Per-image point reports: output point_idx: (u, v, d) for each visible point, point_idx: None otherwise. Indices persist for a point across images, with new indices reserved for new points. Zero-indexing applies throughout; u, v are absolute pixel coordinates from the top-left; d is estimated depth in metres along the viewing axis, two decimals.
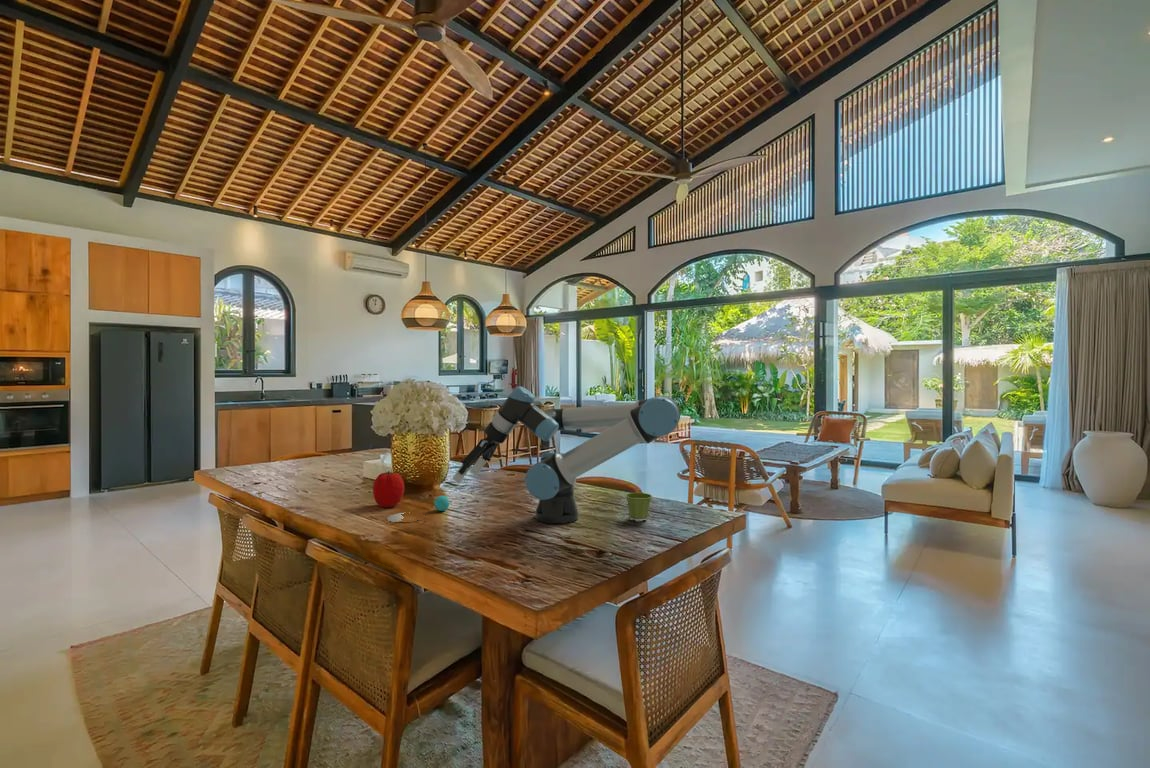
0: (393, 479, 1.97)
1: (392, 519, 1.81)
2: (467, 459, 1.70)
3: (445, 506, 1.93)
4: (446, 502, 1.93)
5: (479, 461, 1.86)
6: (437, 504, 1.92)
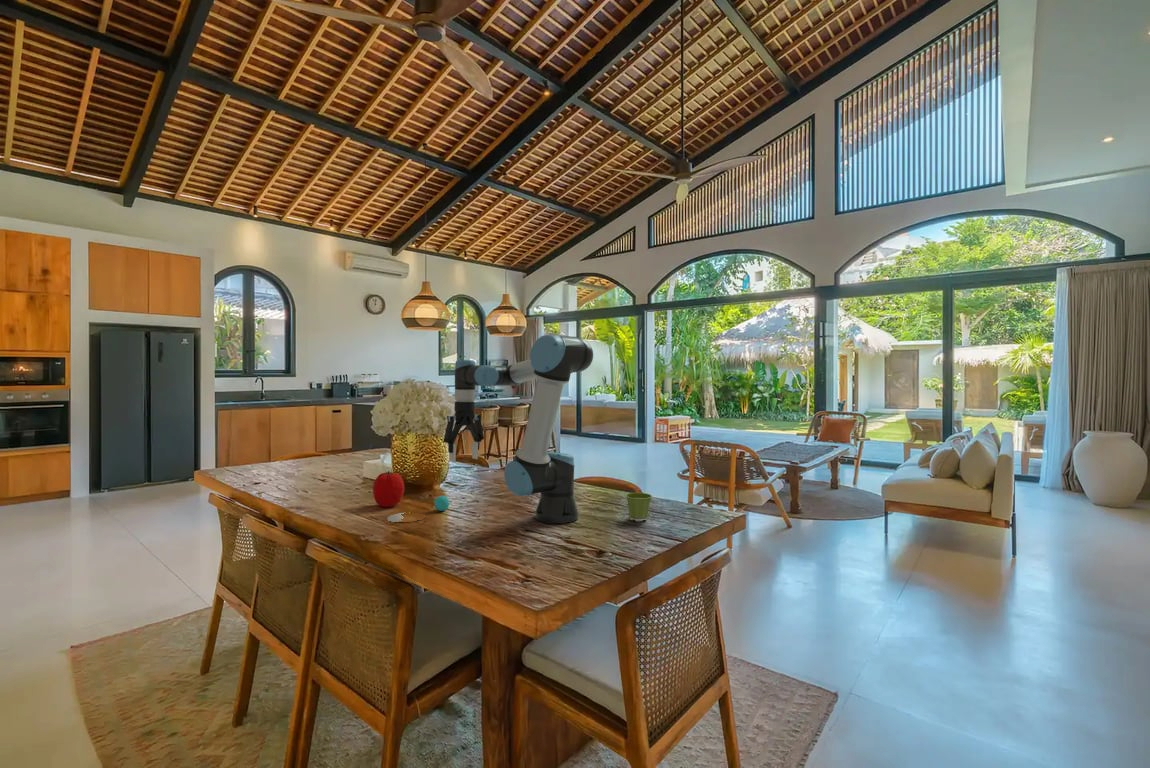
0: (393, 479, 1.97)
1: (392, 519, 1.81)
2: (445, 437, 1.95)
3: (445, 506, 1.93)
4: (446, 502, 1.93)
5: (473, 445, 2.05)
6: (437, 504, 1.92)
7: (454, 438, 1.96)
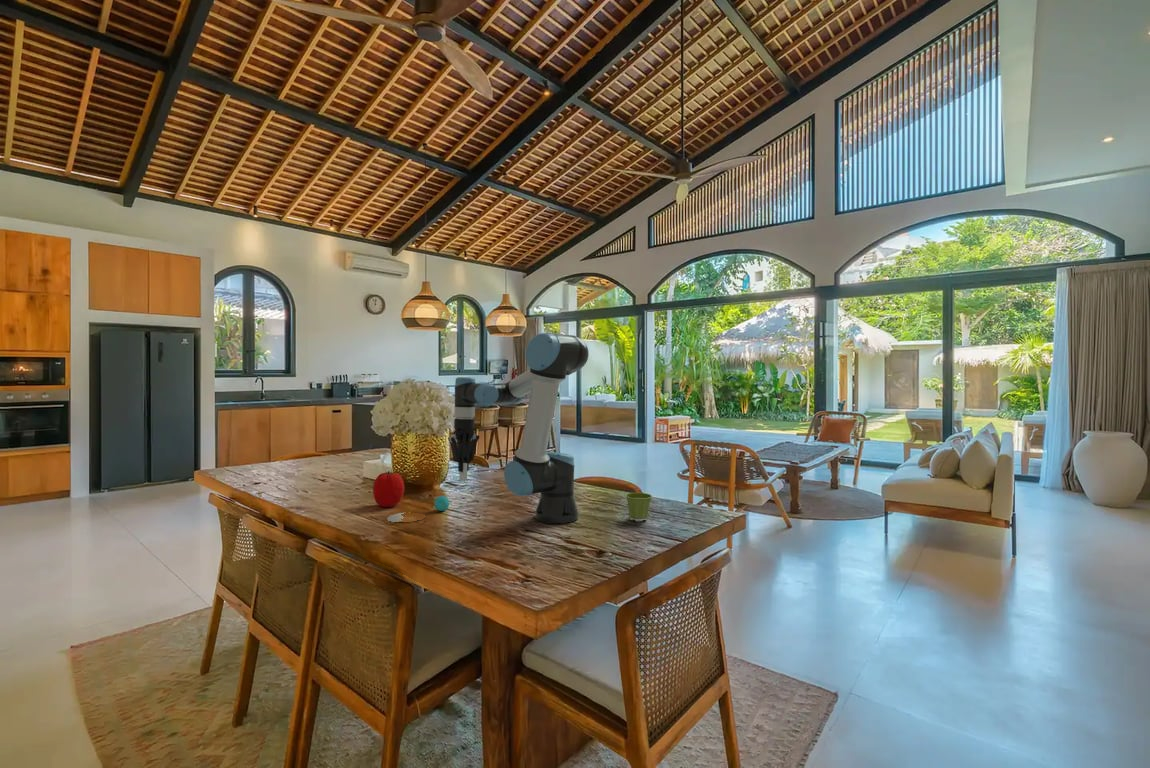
0: (393, 479, 1.97)
1: (392, 519, 1.81)
2: (454, 457, 1.99)
3: (445, 506, 1.93)
4: (446, 502, 1.93)
5: None
6: (437, 504, 1.92)
7: (462, 457, 2.00)
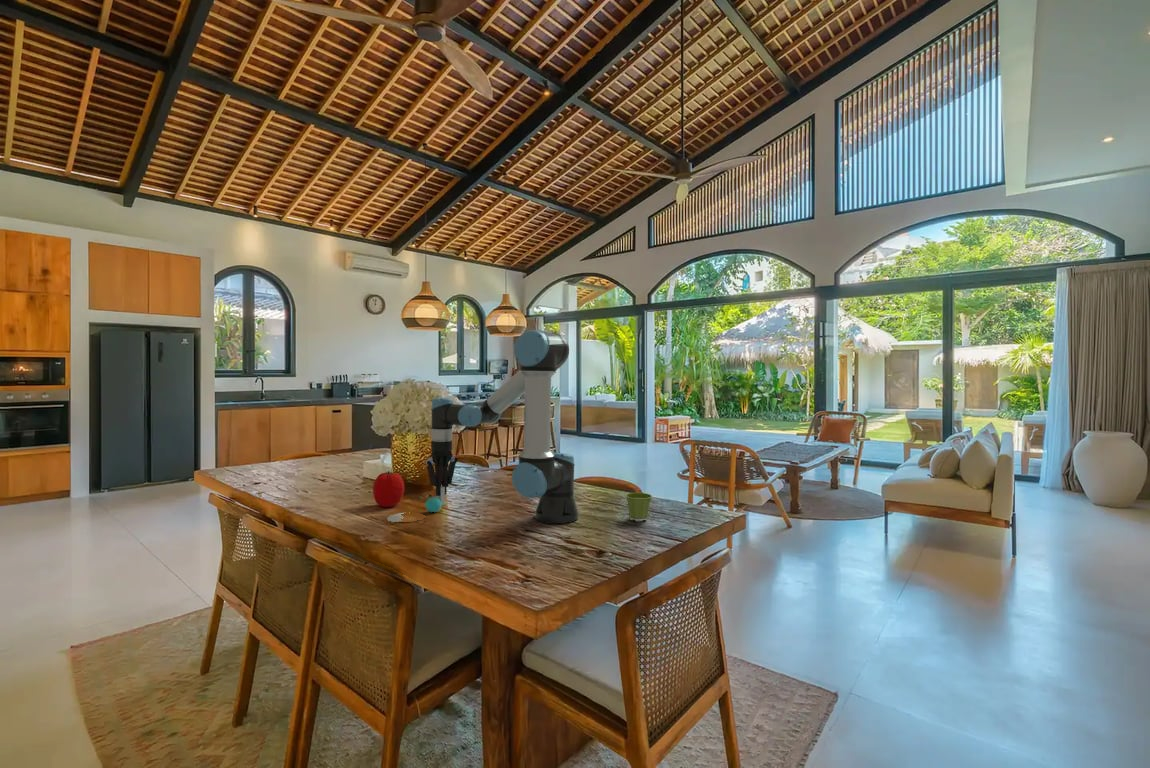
0: (393, 479, 1.97)
1: (392, 519, 1.81)
2: (431, 481, 1.92)
3: (438, 507, 1.91)
4: (436, 503, 1.90)
5: None
6: (430, 511, 1.90)
7: (439, 481, 1.93)
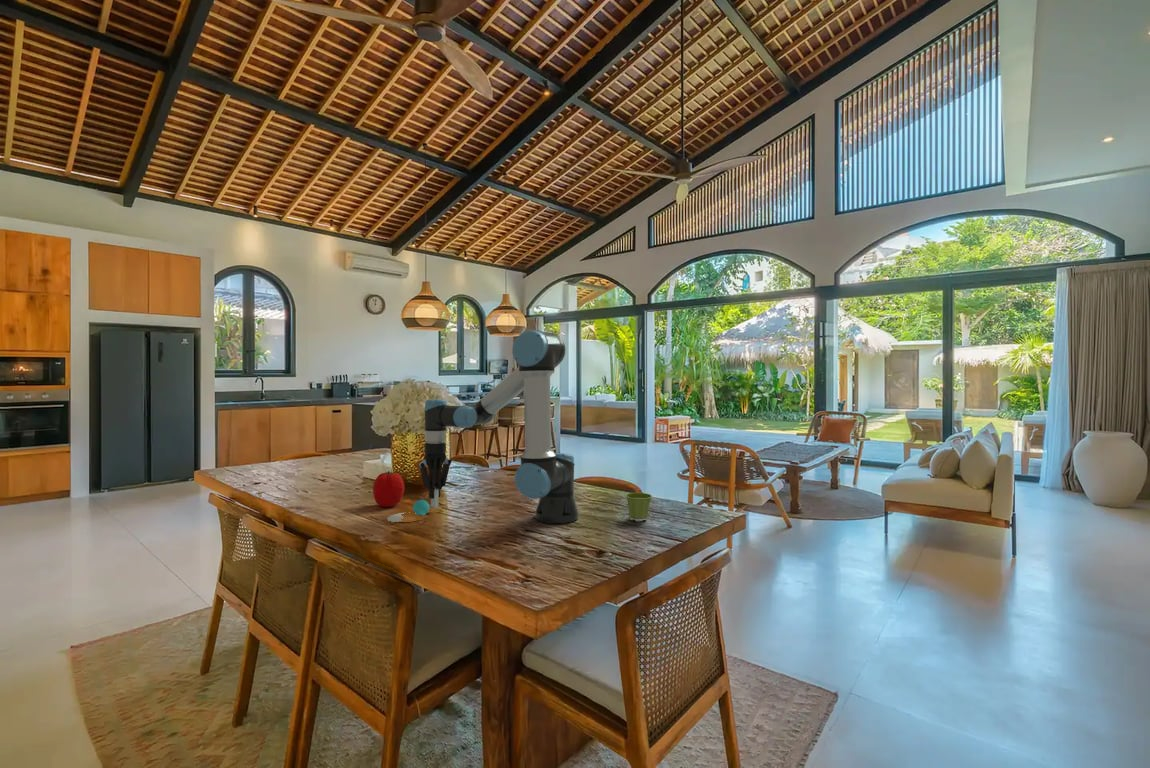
0: (393, 479, 1.97)
1: (392, 519, 1.81)
2: (424, 483, 1.90)
3: (427, 509, 1.87)
4: (423, 511, 1.86)
5: None
6: None
7: (433, 483, 1.91)
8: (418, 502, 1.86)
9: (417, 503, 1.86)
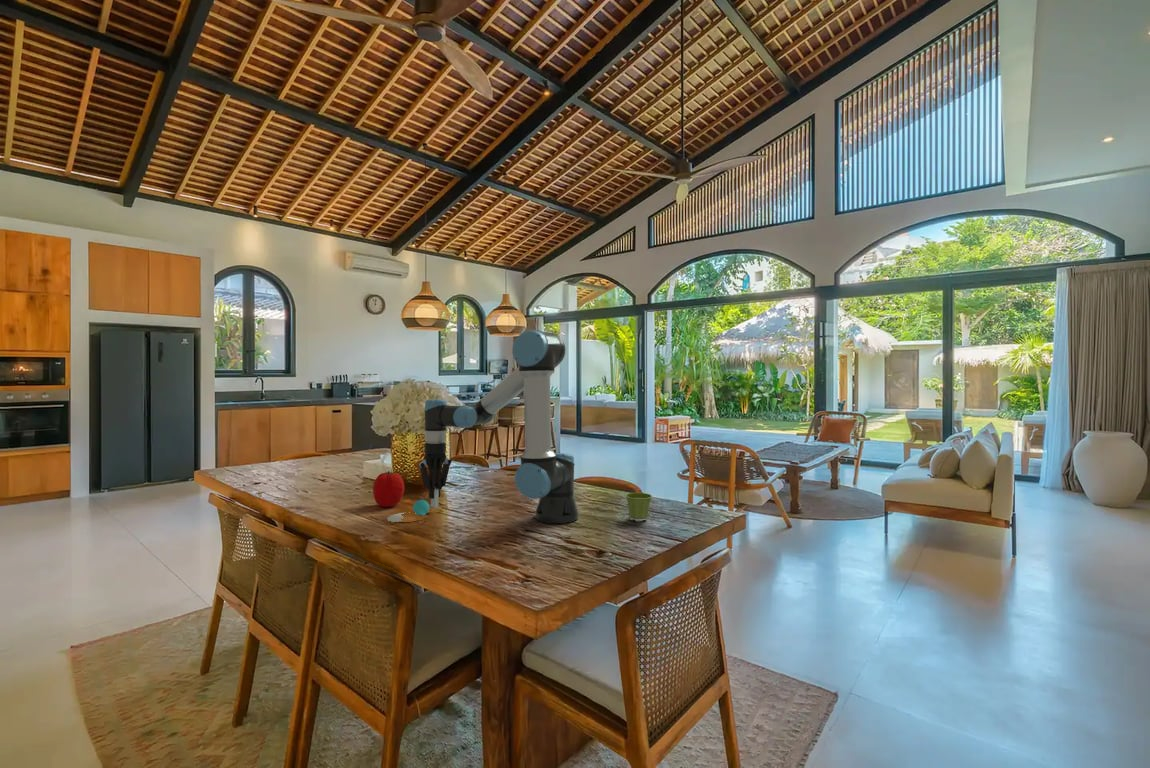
0: (393, 479, 1.97)
1: (392, 519, 1.81)
2: (424, 483, 1.90)
3: (427, 509, 1.87)
4: (423, 511, 1.86)
5: None
6: None
7: (433, 483, 1.91)
8: (418, 502, 1.86)
9: (417, 503, 1.86)
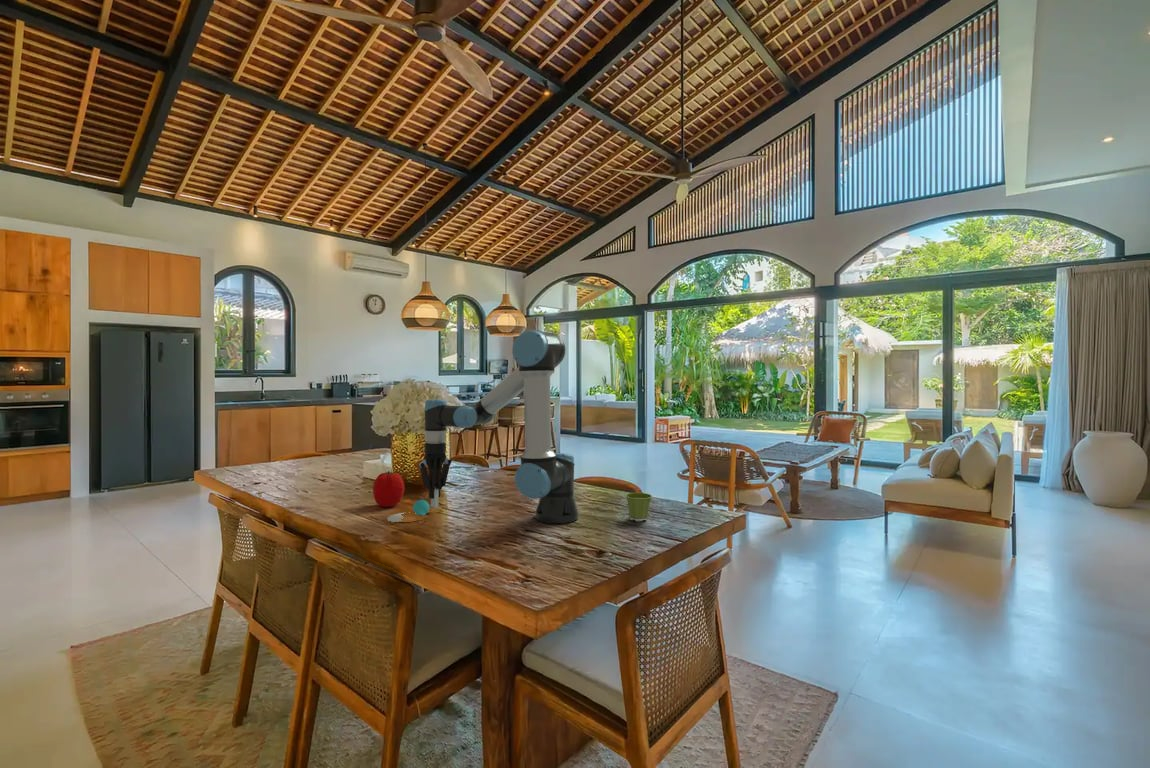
0: (393, 479, 1.97)
1: (392, 519, 1.81)
2: (424, 483, 1.90)
3: (427, 509, 1.87)
4: (423, 511, 1.86)
5: None
6: None
7: (433, 483, 1.91)
8: (418, 502, 1.86)
9: (417, 503, 1.86)
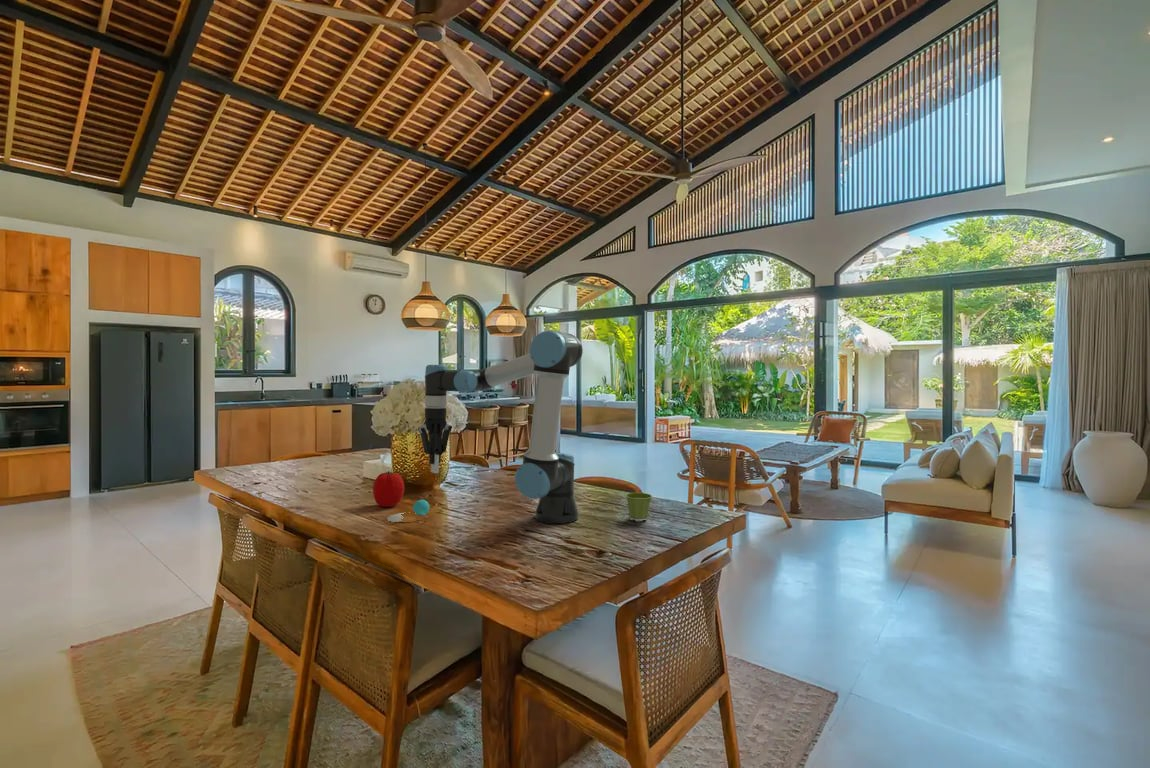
0: (393, 479, 1.97)
1: (392, 519, 1.81)
2: (425, 448, 1.89)
3: (427, 509, 1.87)
4: (423, 511, 1.86)
5: None
6: None
7: (433, 448, 1.90)
8: (418, 502, 1.86)
9: (417, 503, 1.86)
